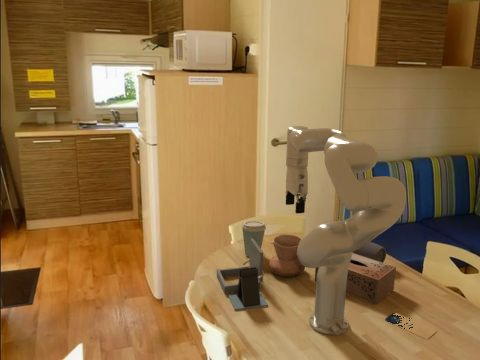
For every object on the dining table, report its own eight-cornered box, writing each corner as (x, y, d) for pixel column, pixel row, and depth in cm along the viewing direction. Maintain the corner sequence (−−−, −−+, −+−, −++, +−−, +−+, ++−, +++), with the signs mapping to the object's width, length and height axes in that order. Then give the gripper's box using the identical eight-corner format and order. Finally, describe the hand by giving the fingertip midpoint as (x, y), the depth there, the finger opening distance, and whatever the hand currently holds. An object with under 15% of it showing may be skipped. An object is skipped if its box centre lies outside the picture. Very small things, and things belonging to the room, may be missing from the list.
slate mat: (268, 306, 159) (268, 304, 159) (234, 310, 156) (234, 309, 156) (259, 292, 168) (259, 291, 168) (228, 296, 165) (228, 294, 165)
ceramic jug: (259, 270, 186) (260, 238, 182) (282, 259, 196) (284, 229, 192) (293, 286, 173) (295, 253, 169) (316, 274, 183) (318, 242, 179)
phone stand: (260, 304, 159) (261, 273, 156) (244, 307, 157) (244, 275, 154) (251, 292, 167) (252, 262, 164) (236, 294, 165) (236, 264, 162)
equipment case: (263, 290, 170) (264, 253, 166) (225, 295, 166) (225, 257, 162) (251, 271, 185) (252, 237, 181) (216, 275, 181) (216, 240, 177)
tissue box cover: (393, 291, 171) (396, 267, 168) (375, 305, 161) (378, 280, 158) (334, 269, 188) (335, 247, 185) (314, 281, 178) (316, 258, 175)
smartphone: (427, 339, 141) (383, 319, 151) (427, 341, 141) (383, 321, 152) (438, 330, 146) (395, 311, 156) (438, 332, 146) (395, 312, 157)
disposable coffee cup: (238, 251, 204) (238, 219, 200) (260, 248, 207) (261, 217, 203) (245, 260, 194) (245, 228, 190) (268, 257, 197) (269, 225, 194)
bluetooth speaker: (328, 254, 202) (330, 233, 199) (341, 248, 208) (342, 228, 206) (373, 272, 186) (375, 249, 183) (385, 265, 192) (388, 243, 189)
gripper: (317, 167, 150) (314, 215, 155) (297, 156, 166) (295, 200, 171) (295, 168, 148) (293, 217, 153) (278, 157, 165) (276, 202, 169)
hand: (294, 208), depth 162 cm, fingers open, 9 cm apart
